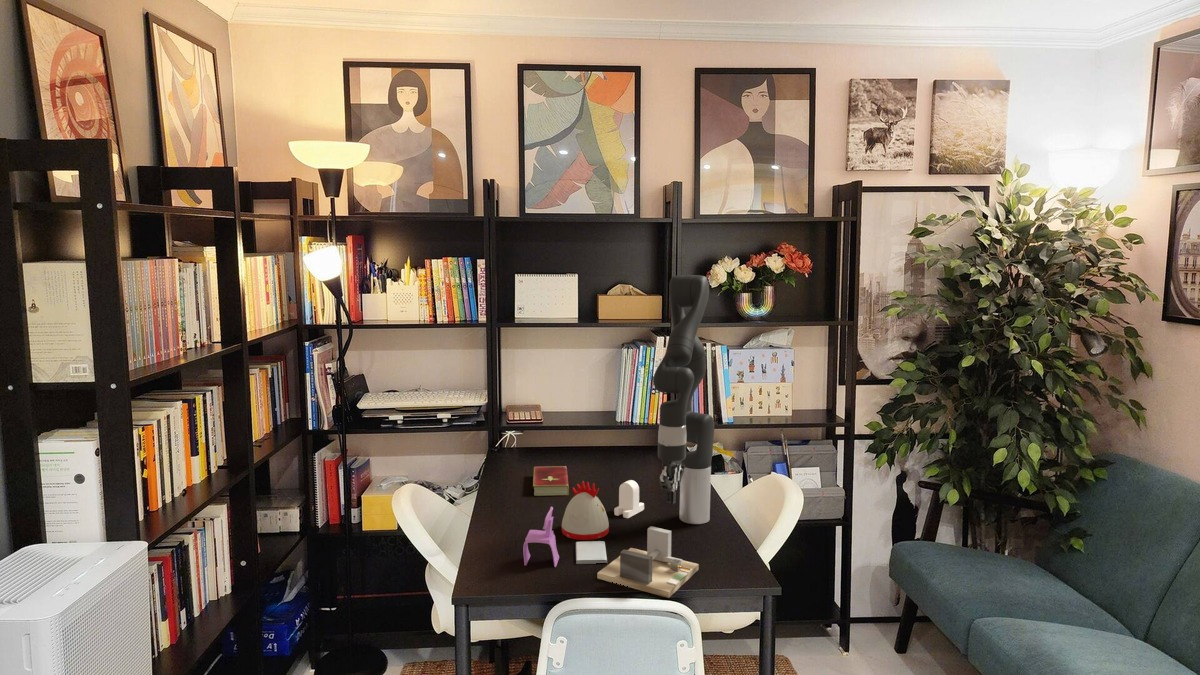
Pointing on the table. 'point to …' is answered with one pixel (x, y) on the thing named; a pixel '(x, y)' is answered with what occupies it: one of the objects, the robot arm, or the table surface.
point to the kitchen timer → (585, 515)
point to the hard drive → (590, 552)
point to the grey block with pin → (677, 565)
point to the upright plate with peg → (659, 544)
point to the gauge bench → (656, 576)
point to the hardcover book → (550, 481)
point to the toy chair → (542, 538)
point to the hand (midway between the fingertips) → (670, 503)
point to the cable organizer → (628, 500)
